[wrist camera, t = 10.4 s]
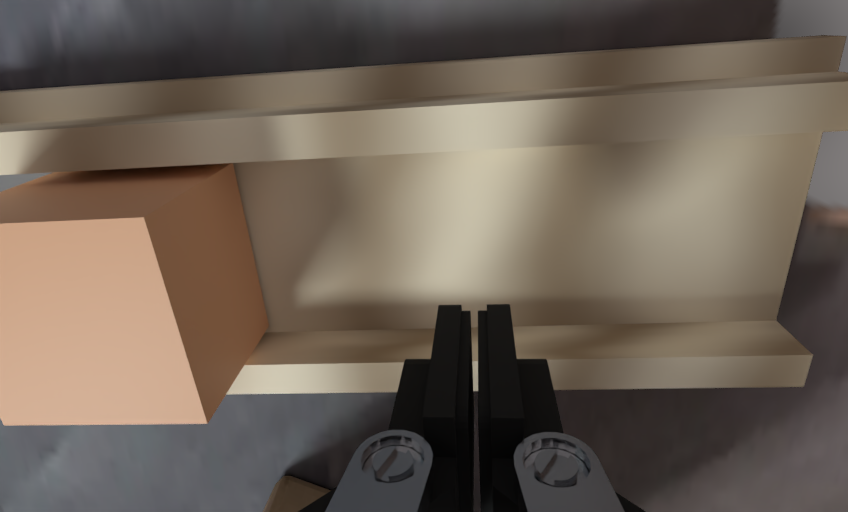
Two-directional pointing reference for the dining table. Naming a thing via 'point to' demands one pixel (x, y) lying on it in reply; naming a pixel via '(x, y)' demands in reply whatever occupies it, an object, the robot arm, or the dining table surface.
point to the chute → (493, 202)
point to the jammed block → (125, 296)
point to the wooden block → (293, 495)
